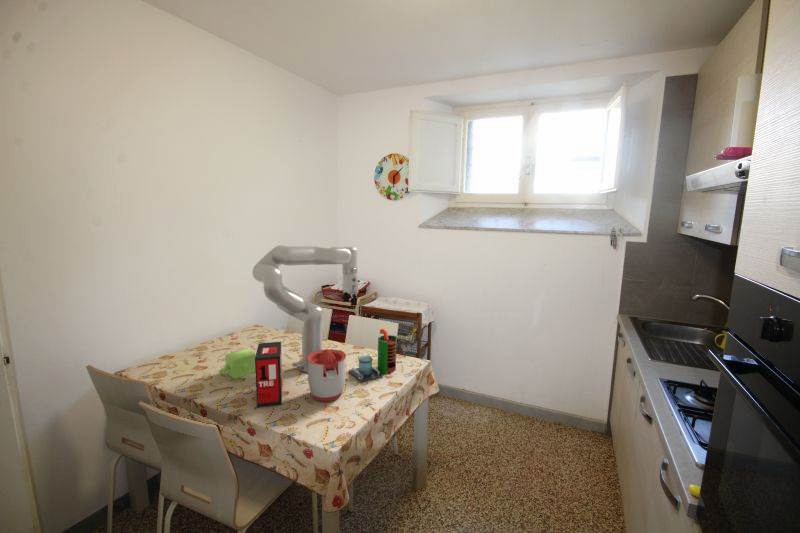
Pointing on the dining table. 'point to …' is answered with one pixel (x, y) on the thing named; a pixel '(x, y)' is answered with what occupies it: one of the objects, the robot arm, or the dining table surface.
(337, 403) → the dining table surface
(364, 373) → the blue lidded jar
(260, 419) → the dining table surface
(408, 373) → the dining table surface
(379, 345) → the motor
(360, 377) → the mount plate
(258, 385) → the cleaning product box
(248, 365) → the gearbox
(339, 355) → the citrus juicer
